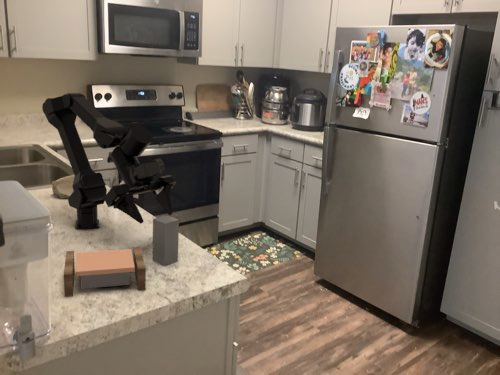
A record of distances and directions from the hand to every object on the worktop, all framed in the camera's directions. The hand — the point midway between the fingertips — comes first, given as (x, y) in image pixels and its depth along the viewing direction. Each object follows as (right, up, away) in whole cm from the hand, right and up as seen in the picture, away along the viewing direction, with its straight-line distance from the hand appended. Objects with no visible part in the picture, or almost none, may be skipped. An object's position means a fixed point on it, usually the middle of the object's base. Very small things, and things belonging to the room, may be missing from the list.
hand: (157, 218), depth 115 cm
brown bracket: (-9, -13, -12) cm, 20 cm away
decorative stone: (-39, +5, +47) cm, 61 cm away
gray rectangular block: (+2, -11, +1) cm, 11 cm away
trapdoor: (-9, -12, -11) cm, 19 cm away
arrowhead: (-18, +1, +38) cm, 42 cm away
